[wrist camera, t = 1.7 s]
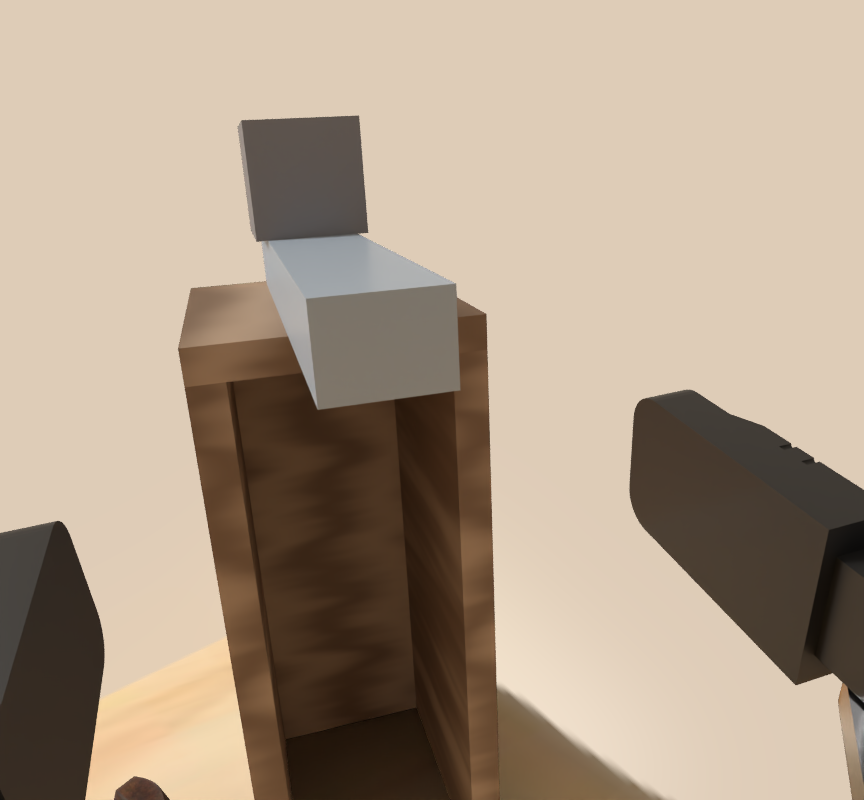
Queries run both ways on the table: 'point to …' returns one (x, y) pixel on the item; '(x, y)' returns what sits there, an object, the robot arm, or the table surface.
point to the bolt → (140, 790)
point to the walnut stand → (345, 543)
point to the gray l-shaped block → (342, 269)
